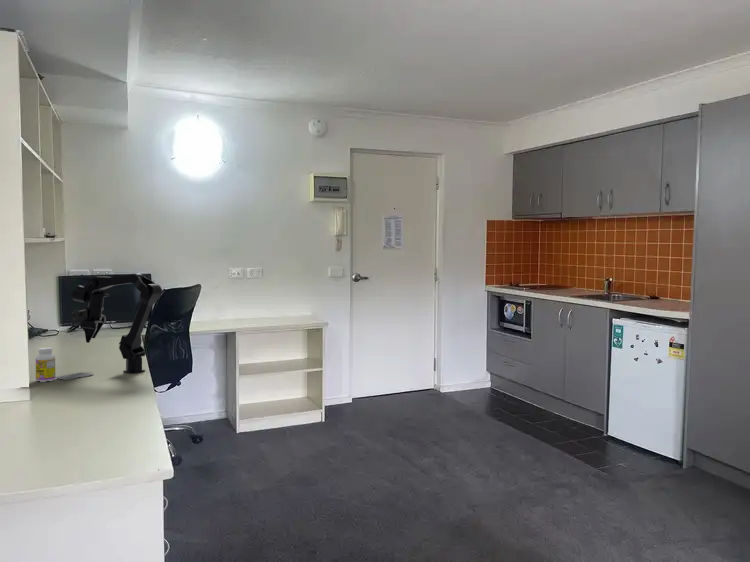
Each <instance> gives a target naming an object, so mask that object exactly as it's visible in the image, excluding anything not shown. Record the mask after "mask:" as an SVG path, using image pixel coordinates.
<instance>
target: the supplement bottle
mask: <svg viewBox="0 0 750 562" xmlns="http://www.w3.org/2000/svg"><path fill="white" fill-rule="evenodd" d="M55 377H56V355H55V353H54V354H53V347H39V348H38V355H36V356H35V381H36V382H37V381H40V382H39V383H47V382H46V381H50V382H52V381H53V380H54V381H55V380H56V379H55Z"/></svg>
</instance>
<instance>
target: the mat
mask: <svg viewBox="0 0 750 562" xmlns="http://www.w3.org/2000/svg"><path fill="white" fill-rule="evenodd" d="M90 375H93V376H94V374H92V373H88V372H87V373H86V372H78V373H71V374H66V375H64V374H63V375H60V376H59V375H58V376H55V378H57V379H56V380H58V379H62V380H61V381H63V380H66V381H70V380H69V379H72V380H75V379H74V378H77V379H79V378H78V377H83V378H85V377H84V376H88V377H91V376H90Z"/></svg>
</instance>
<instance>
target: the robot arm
mask: <svg viewBox="0 0 750 562" xmlns="http://www.w3.org/2000/svg"><path fill="white" fill-rule="evenodd" d="M128 284H129V285H130V284H134V286H135V288H136V289H137V291H139V292H140V293H139V300H140V303H139V305H138V308H137V312H136V314H135V317H134V319H133V322H132V325H131V327H130V330H129V332H128V333H127V334H123V335H121V338H120V341H119V342H118V350H119V351H120V353H121V356H122V359H123V360H125V370H122V372H123V373H128V374H137V373H142V372H146V370H145V369H143V357H145V356H146V353H147V351H146V350H145V349H144V347H142V342H143V341H142V333H143V331H144V328H145V325H146V323H147V320H148V318H149V316H150V312H151V310H152V307H153V306H154V304H155V303H156V302H157V301H158V300H159V298H160V296H161V295H162V293H163V288H162V287H161V285H160V284H157V283H156V282H154V281H153V280H152V279H149V277H148V278H147V276H145V275H144V274H142V273H132V274H125V275H118V276H117V275H116V276H105V275H103V276H92V277H90V279H89V281H88V282H87V283H86V284H85V285H81V284H80V285H76V286H75V288H74V290H73V291H72V292H71V299H72V300H73V301H74V302H75V301H76V302H80V303H85V304H87V303H88V305H87V307H85V309H81V310H79V309H76V310H72V311H73V312H71V317H72V320H73V321H76V320H78V319H83V320H80V322H79V328H80V329H82V330H83V331H84V336H85V343H89V344H90V342H91V340H92V339H96V337H97V335H98V334H99V332H100V330H101V329H102V327H103V325H104V324H105V323H106V321H107V316H106V315H105V314H103V311H104V309H105V308H104V303H105V302H104V301H105V298H106V297H110V294H109V293H108V292H107V289H110V288H112V287H115V286H119V285H121V286H122V285H128ZM100 290H102V291H100Z"/></svg>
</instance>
